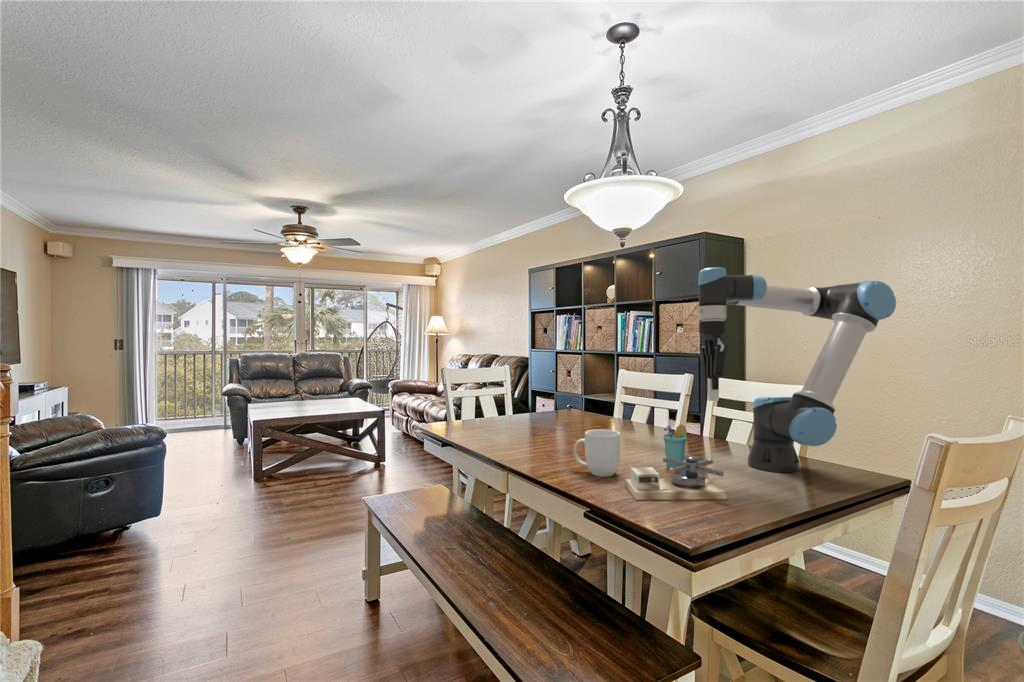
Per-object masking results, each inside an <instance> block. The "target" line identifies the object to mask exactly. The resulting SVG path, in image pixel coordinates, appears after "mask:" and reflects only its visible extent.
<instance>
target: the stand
mask: <svg viewBox="0 0 1024 682" xmlns="http://www.w3.org/2000/svg"><path fill="white" fill-rule="evenodd" d="M624 486H625V488H626V489H627V490H628V492H629V493H630V494H631V496H632V497H633V498H634V499H635V501H656V500H657V501H659V500H660V501H661V500H663V501H667V500H670V501H672V500H673V501H676V500H677V501H678V500H683V501H684V500H692V501H693V500H694V501H695V500H697V501H699V500H727V498H728V495H727V494H728V493H727V491H726V490H725V489H723V488H722V487H721V486H720V485H718V484H716V483H715V482H714V481H712V480H710V479H709V478H705V486H704V487H700V488H687V487H681V486H677V485H674V484H672V483H671V478H660V473H659V472H657V471H656V470H655V469H654V468H653V467H649V466H648V467H643V466H642V467H630V478H625V479H624Z"/></svg>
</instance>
